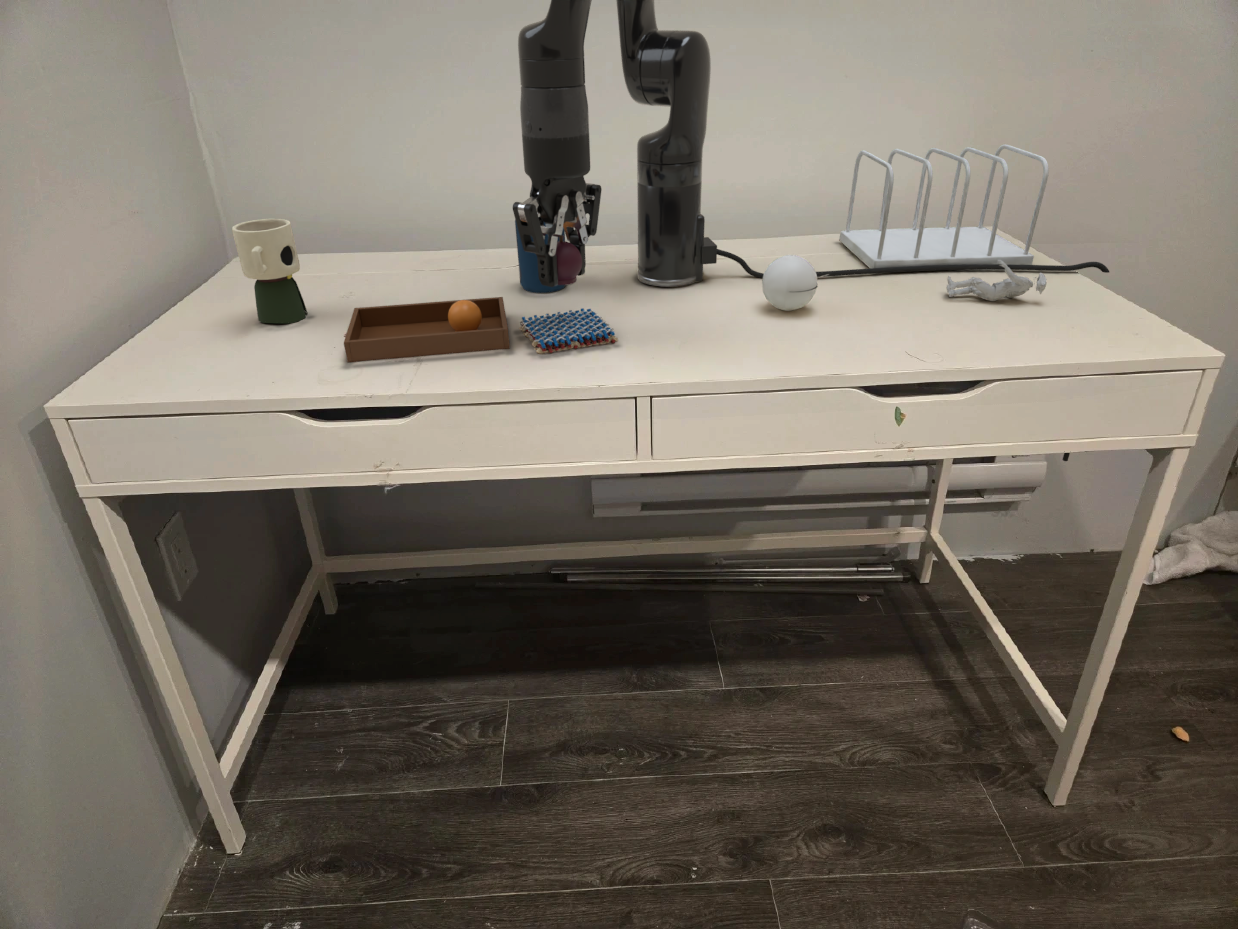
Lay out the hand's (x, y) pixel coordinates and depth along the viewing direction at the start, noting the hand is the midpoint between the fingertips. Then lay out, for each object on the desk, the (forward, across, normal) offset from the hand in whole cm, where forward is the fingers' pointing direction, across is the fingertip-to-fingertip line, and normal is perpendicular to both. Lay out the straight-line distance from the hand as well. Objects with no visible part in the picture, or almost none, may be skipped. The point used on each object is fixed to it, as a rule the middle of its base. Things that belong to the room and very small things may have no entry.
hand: (563, 278), depth 99 cm
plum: (0, 0, 0) cm, 0 cm away
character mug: (+8, -15, +37) cm, 41 cm away
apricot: (+7, -6, +11) cm, 15 cm away
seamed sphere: (+8, +26, -20) cm, 33 cm away
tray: (+8, -10, +14) cm, 19 cm away
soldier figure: (+8, +43, -41) cm, 60 cm away
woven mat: (+8, 0, 0) cm, 8 cm away
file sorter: (+8, +60, -27) cm, 67 cm away
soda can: (+8, +14, +15) cm, 22 cm away
